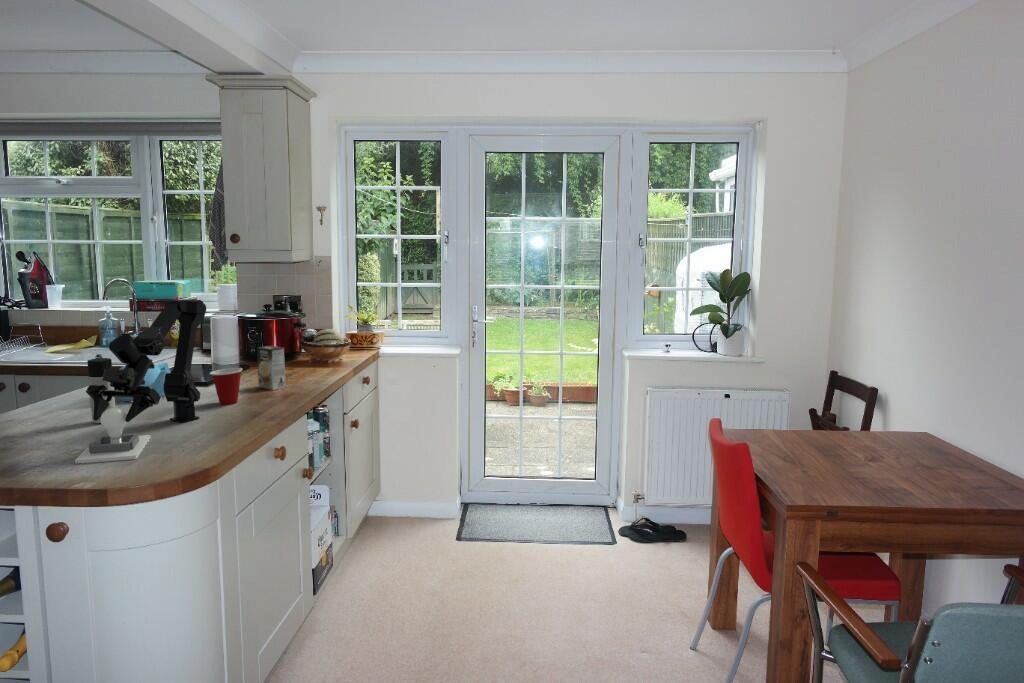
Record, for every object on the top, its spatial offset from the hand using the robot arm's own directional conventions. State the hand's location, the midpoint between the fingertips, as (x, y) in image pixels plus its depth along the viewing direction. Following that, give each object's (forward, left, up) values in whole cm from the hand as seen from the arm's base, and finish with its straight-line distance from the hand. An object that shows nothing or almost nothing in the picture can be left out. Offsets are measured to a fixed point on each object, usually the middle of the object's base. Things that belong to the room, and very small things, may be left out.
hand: (110, 420), depth 184 cm
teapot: (-55, +42, -9) cm, 70 cm away
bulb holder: (0, +1, -9) cm, 9 cm away
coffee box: (-30, +79, -9) cm, 85 cm away
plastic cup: (-22, +53, -9) cm, 58 cm away
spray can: (-33, +16, -9) cm, 38 cm away
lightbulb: (0, +1, -8) cm, 8 cm away
